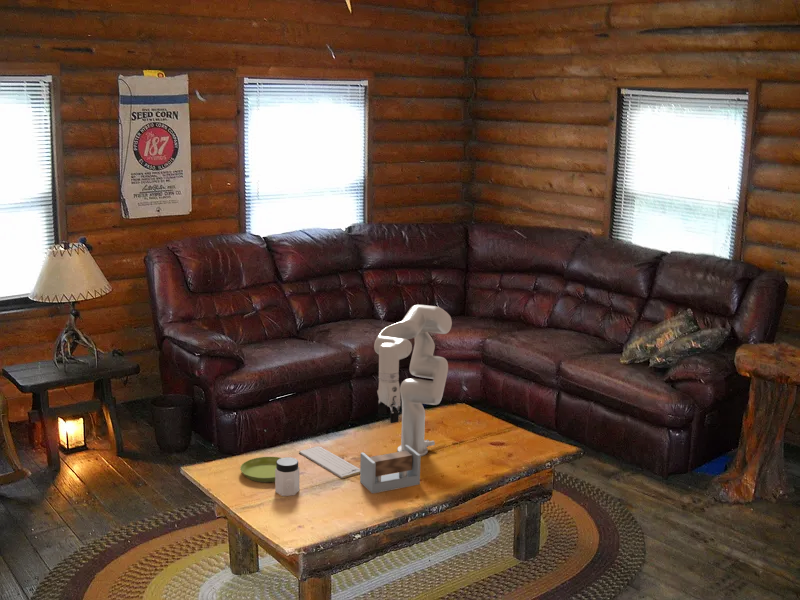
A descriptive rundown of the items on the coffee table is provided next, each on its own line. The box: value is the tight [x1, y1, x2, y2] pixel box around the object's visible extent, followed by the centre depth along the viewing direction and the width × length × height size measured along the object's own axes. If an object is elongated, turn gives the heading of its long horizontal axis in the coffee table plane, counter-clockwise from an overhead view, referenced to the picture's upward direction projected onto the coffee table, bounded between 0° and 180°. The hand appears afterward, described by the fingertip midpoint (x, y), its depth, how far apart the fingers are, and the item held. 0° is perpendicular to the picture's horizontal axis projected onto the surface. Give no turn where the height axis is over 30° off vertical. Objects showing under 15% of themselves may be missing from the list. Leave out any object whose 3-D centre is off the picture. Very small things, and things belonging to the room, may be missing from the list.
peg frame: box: [359, 445, 422, 494], centre depth 349 cm, size 20×11×12 cm, turn 116°
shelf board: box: [368, 451, 412, 477], centre depth 349 cm, size 16×5×6 cm, turn 117°
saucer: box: [239, 456, 281, 483], centre depth 356 cm, size 21×21×3 cm
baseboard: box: [298, 445, 360, 479], centre depth 369 cm, size 31×3×12 cm
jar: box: [274, 456, 300, 497], centre depth 340 cm, size 9×8×12 cm
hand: (388, 417), depth 349 cm, fingers open, 9 cm apart
